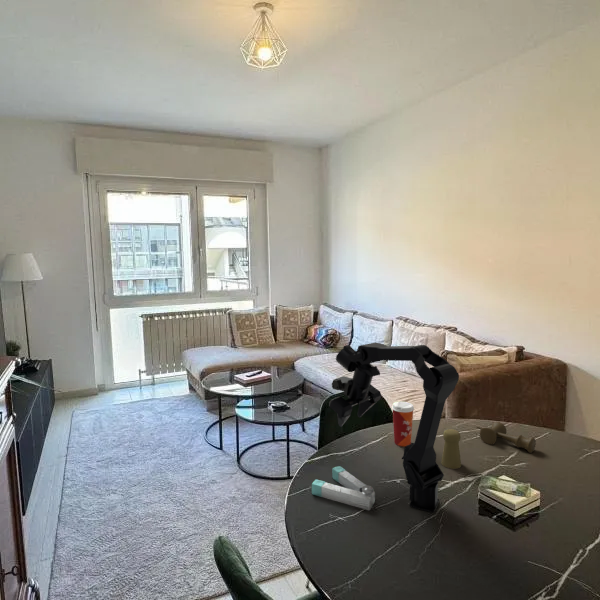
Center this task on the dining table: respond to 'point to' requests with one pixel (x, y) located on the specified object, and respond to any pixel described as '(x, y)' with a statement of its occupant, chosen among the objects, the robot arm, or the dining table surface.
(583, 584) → the dining table surface
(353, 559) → the dining table surface
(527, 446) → the kendama
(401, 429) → the paper cup
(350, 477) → the moving jaw
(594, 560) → the dining table surface
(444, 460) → the cork
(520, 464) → the dining table surface
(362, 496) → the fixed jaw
